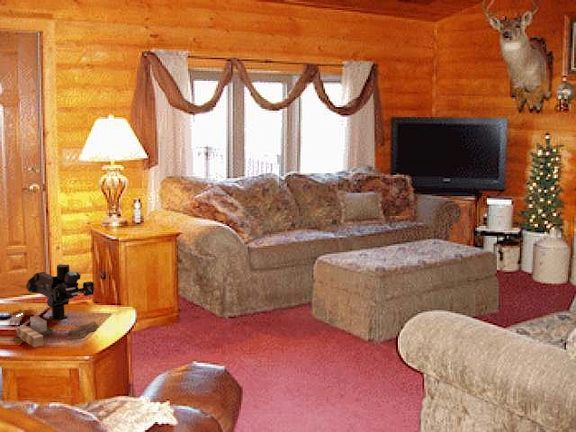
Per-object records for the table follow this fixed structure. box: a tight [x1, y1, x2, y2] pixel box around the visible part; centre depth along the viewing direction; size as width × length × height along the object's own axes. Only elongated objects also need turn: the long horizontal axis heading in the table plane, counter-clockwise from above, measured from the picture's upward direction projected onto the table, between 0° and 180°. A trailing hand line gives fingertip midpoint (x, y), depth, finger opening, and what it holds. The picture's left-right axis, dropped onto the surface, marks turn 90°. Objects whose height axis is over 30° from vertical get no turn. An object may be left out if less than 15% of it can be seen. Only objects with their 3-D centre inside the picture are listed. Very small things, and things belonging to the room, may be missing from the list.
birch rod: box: [16, 325, 44, 348], centre depth 309 cm, size 18×4×4 cm, turn 43°
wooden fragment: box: [67, 321, 100, 340], centre depth 324 cm, size 26×11×1 cm, turn 167°
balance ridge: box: [27, 315, 54, 336], centre depth 321 cm, size 12×8×6 cm, turn 43°
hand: (82, 295), depth 321 cm, fingers open, 9 cm apart
